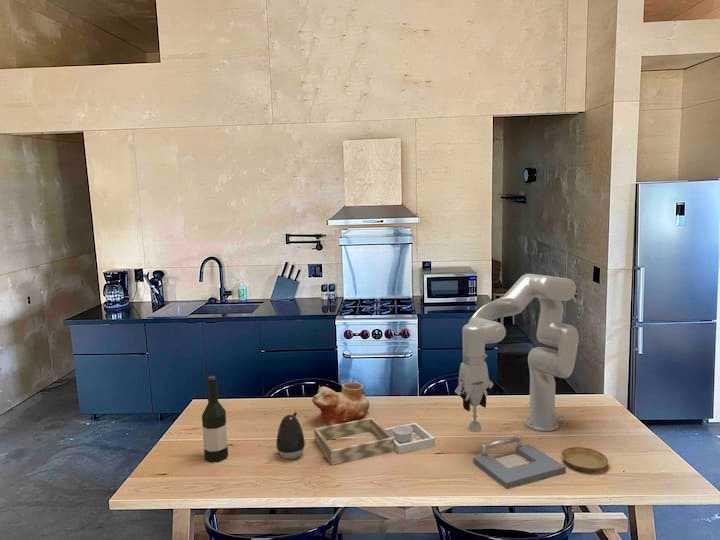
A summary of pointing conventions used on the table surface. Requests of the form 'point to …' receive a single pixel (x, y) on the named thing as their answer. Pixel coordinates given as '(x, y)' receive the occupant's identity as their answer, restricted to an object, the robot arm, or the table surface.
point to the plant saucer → (584, 458)
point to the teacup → (403, 434)
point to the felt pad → (511, 461)
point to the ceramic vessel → (341, 404)
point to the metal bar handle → (501, 443)
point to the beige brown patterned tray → (355, 451)
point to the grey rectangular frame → (521, 467)
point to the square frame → (415, 445)
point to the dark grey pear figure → (290, 437)
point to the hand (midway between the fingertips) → (474, 407)
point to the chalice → (474, 401)
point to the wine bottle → (214, 426)
